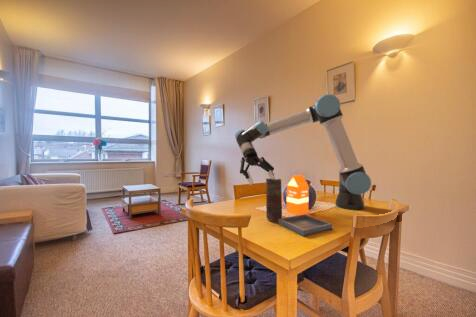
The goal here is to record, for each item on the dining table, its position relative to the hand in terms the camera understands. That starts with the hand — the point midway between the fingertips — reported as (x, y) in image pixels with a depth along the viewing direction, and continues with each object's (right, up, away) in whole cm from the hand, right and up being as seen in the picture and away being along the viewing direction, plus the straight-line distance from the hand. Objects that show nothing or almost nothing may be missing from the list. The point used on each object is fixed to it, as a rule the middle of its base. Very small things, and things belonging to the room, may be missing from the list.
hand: (263, 182), depth 114 cm
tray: (+16, -18, -17) cm, 29 cm away
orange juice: (+19, -17, +5) cm, 26 cm away
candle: (+4, -17, -7) cm, 19 cm away
